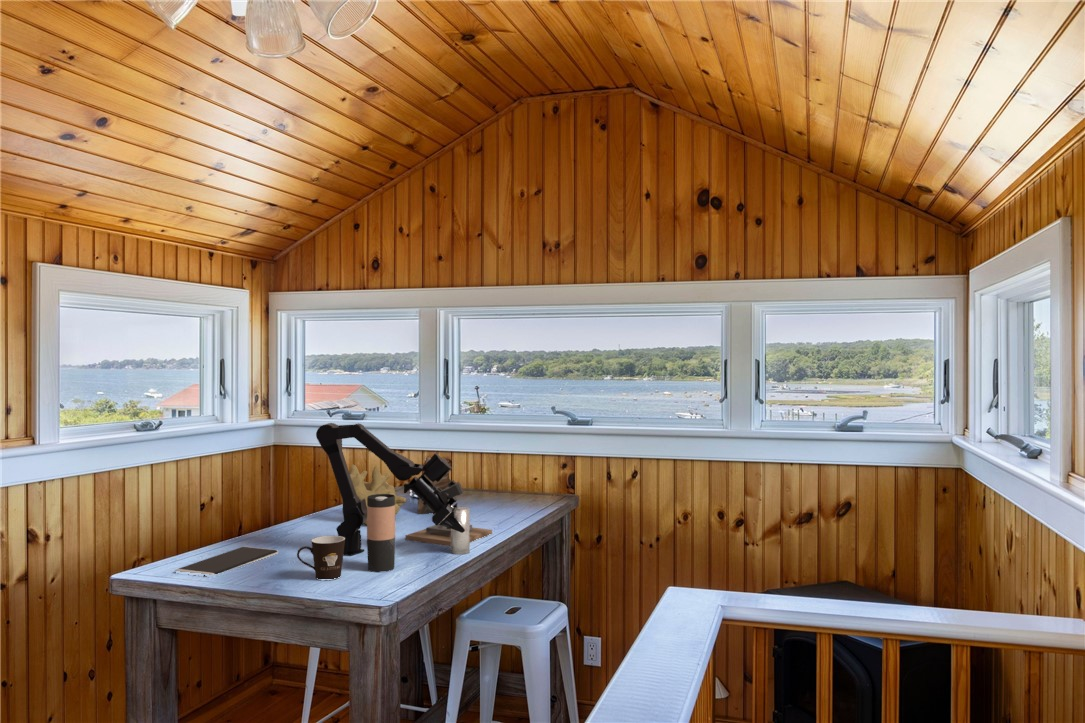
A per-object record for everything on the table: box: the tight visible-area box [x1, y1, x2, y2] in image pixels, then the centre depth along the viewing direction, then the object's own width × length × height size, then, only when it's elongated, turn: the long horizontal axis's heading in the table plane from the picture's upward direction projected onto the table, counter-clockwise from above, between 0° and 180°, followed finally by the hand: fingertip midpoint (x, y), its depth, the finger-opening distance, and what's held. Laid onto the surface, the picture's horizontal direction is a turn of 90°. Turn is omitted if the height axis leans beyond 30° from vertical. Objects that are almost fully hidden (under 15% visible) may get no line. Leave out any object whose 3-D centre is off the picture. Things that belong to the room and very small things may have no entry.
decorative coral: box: [349, 464, 407, 526], centre depth 274 cm, size 26×22×25 cm
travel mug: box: [366, 494, 396, 573], centre depth 212 cm, size 8×8×20 cm
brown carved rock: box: [417, 456, 452, 515], centre depth 292 cm, size 13×13×20 cm
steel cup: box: [450, 506, 471, 555], centre depth 230 cm, size 6×6×13 cm
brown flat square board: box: [404, 524, 493, 547], centre depth 249 cm, size 20×20×4 cm
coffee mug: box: [296, 535, 345, 579], centre depth 203 cm, size 12×9×10 cm
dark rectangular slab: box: [174, 546, 279, 575], centre depth 217 cm, size 13×27×2 cm, turn 161°
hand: (464, 529), depth 230 cm, fingers closed on steel cup, 6 cm apart
